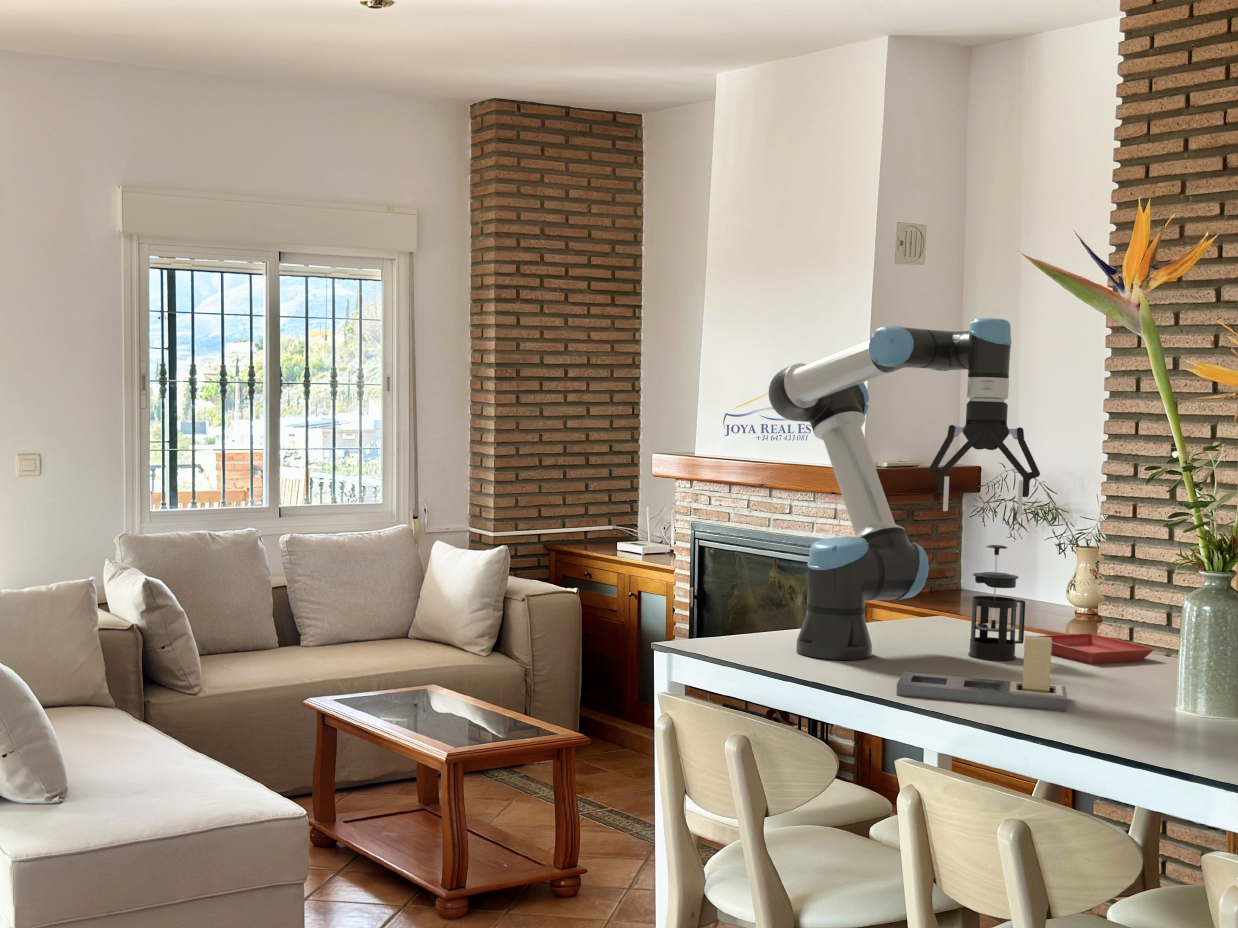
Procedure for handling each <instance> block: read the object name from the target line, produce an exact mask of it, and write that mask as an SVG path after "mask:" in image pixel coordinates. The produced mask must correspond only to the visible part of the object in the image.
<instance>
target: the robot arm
mask: <svg viewBox="0 0 1238 928" xmlns="http://www.w3.org/2000/svg"><path fill="white" fill-rule="evenodd" d="M1011 333H1012V331H1011V323H1010V321H1008V320H1007V319H1004V318H1003V319H1002V318H990V317H989V318H982V317H981V318H975V319H973V320H971V321H970V326H969V329H968V330H965V331H964V330H960V331H957V330H956V331H955V330H953V331H950V330H940V329H939V330H938V329H924V328H917V327H916V328H914V327H907V326H906V327H904V326H900V325H899V326H898V325H892V326H880V327H879V328H876V329H875V331H874V332H873V334H872V335H871V336H870V338H869V339H868V340H865V341H863V342H861V343H858V344H855V345H853V346H850V347H848V348H845V349H842V350H841V351H837V352H835V353H833V354H830V355H828V356H825V357H822V358H820V359H818V360H816V361H813V362H810V363H808V364H806V363H802V362H800V363H794V364H792V365H789V366H787V367H785V368H782V369H780V371H779V372H777V373H775V375H774V376H773V378H772V379H771V381H770V383H769V387H768V399H769V400H768V401H769V402H770V405H771V407H772V409H773V410H774V411H775V412H776V413H777V414H778V415H780V417H782V418H784V419H786V420H789V421H792V422H802V423H803V422H805V423H806V422H807V423H809V424H810V426H811V428H812V432H813V434H814V436H815V438H817V439H819V440H822V441H823V443H824V445H825V449H826V452H827V454H828V457H829V460H830V463H831V466H832V469H833V473H834V475H835V479H836V481H837V484H838V487H839V491H840V493H841V496H842V499H843V502H844V506H845V508H846V510H847V511H846V512H847V513H848V517H849V519H850V523H851V526H852V528H853V532H854V534H855V536H841V537H839V536H836V537H827V538H822V539H819V540H816V541H815V542H813V543H812V544H811V545H810V548H809V553H808V554H809V555H808V560H807V571H808V572H807V573H808V574H807V594H806V596H807V597H806V598H807V599H806V615H805V617H804V620H803V622H802V626H801V628H800V631H799V632H798V633H799V634H798V636H797V639H796V647H795V649H796V650H795V651H796V653H798V654H800V655H803V656H806V657H811V658H818V659H824V660H837V661H839V660H843V661H847V660H848V661H849V660H850V661H854V660H856V661H857V660H864V659H865V660H866V659H869V658H871V657H872V655H873V643H872V640H871V636H870V633H869V630H868V626H867V622H866V619H865V611H866V610H865V609H866V608H865V607H866V602H867V601H868V602H871V601H892V600H893V601H901V600H903V599H904V600H905V599H911V598H914V597H915V596H917V595H918V594H920V592H921V591H922V589H924V587H925V584H926V583H927V578H928V577H929V576H928V575H929V558H928V556H927V555H928V554H927V552H926V551H925V549H924V548H923V547H922V546H921V545H919V544H918V543H916V542H914V541H913V542H911V541H910V539H909V537H908V535H907V532H906V529H905V528H904V527H903V526H901V525H899V524H896V522H895V520H894V516H893V514H892V511H891V507H890V506H889V503H888V500H887V497H886V494H885V492H884V488H883V485H882V482H881V480H880V478H879V474H878V471H877V469H876V465H875V462H874V461H873V457H872V455H871V452H870V449H869V446H868V443H867V440H866V437H865V434H864V432H863V429H862V427H863V425H864V424H865V421H866V415H867V413H868V410H869V404H868V402H870V395H869V391H868V388H867V386H866V384H865V382H868V381H870V380H873V379H876V378H878V377H882V376H885V375H888V374H889V373H893V372H895V371H898V370H902V369H904V368H912V369H928V370H932V371H941V372H942V371H943V372H948V371H960V370H961V371H962V370H963V371H965V370H967V389H966V390H967V391H966V397H967V399H969V401H967V403H966V411H965V412H966V413H965V423H964V426H956V425H955V424H950V425H949V426H948V429H947V430H948V431H947V436H946V438H945V439H944V442H942V445H941V446H940V448H939V451H938V452H937V454H936V455H935V457H934V459H933V460H932V462H931V464H930V466H929V468H928V471H929V472H930V473H932V474H935V475H936V476H937V491H938V494H943V502H942V503H943V505H942V511H943V512H948V510H949V496H950V495H949V493H950V492H949V491H950V476H947V475H946V474H947V473H949V471H951V469H952V468H954V466H955V465H956V464H957V463H958V462H959V461H960V460H961V459H962V458H963V457H964V456H965V454H966V453H968V451H969V450H970V449H971V448H973V449H975V450H981V451H982V450H987V451H994V450H997V449H999V450H1000V451H1001V453H1002V454H1003V455H1004V456H1005V458H1006V459H1007V460H1008V461H1009V463H1010V464H1011V465H1012V466H1013V468H1014V469H1015V470H1016V472H1018V474H1019V475H1020V476H1021V477H1022V479H1019V480H1018V492H1017V493H1018V494H1017V495H1018V498H1017V516H1022V515H1023V513H1022V512H1023V498H1028V497H1029V495H1030V483H1031V481H1032V479H1035V478H1039V477H1040V476H1041V473H1040V470H1039V468H1038V466H1037V464H1036V462H1035V459H1034V456H1033V454H1032V453H1031V451H1030V448H1029V447H1028V444H1027V442H1026V440H1025V432H1024V428H1023V427H1019V426H1018V428H1017V427H1016V428H1009V427H1008V409H1009V408H1008V407H1009V406H1008V405H1009V404H1007V402H1005V401H1006V400H1007V399H1009V388H1010V387H1009V386H1010V385H1009V384H1010V359H1011V347H1012V334H1011ZM961 433H963V435H964V437H965V439H966V440H967V441H966V442H965V443H964V444H963V445H962V447H960V449H958V451H957V452H956V453H955V454H954V455H953V456H952V457H951V458H950V459H949V460H948V461H947V462H946V463H945V465H943V466H942V467H941V468H940V467H939V466H940V464H941V462H942V460H943V459H944V457H945V455H946V453H947V452H948V450H949V448H950V446H952V443H953V441H954V439H955V438H957V437H959V436H960V434H961ZM1009 435H1011V436H1012V438H1013V440H1017V443H1018V445H1019V447H1020V450H1021V451H1022V453H1023V456H1024V458H1025V459H1026V462H1027V465H1028V466H1029V468H1030V472H1028V471H1027V469H1025V467H1024V466H1023V465H1022V464H1021V462H1019V460H1018V459H1017V458H1016V457H1015V455H1014V454H1013V453H1012V452H1011V450H1010V449H1009V448H1008V447H1007V444H1005V443H1004V441H1005V440H1006V439H1007V438H1008V436H1009Z"/></svg>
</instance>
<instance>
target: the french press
mask: <svg viewBox="0 0 1238 928" xmlns="http://www.w3.org/2000/svg"><path fill="white" fill-rule="evenodd" d="M985 547H986V548H990V549H994V552H993V553H994V556H995V561H994V563H995V564H994V565H995V566H994V571H983V572H974V573H973V574H972V576H973V577H974V580H975V583H976V584H985V585H986V586H987V587H989V588H993V595H975V596H974V595H973V596H972V597H971V625H970V626H971V628H970V638H969V651H968V656H969V657H970V658H973V659H978V660H982V661H993V662H1011V661H1014V660H1016V659H1017V656H1016V644H1023V643H1024V642H1025V616H1026V601H1025V600H1023V599H1016V598H1012V597H1006V596H996V595H997V588H999V589H1014V588H1016V587H1017V586H1016V585H1017V580H1018V579H1019V576H1018V575H1015V574H1010V573H1005V572H997V571H998V556H999V555H1000V549H1002V550H1005V549H1008V548H1009V547H1007V546H1005V545H1000V544H989V545H986V546H985ZM1018 603H1019V620H1018V621H1019V622H1018V640H1016V620H1017V618H1016V617H1017V607H1018ZM977 607H980V617H979V618H980V619H979V622H977ZM990 609H992V611H993V612H992V619H991V621H990V622H989V614H990V613H989V612H990ZM996 609H999V615H998V616H999V618H998V623H997V621H996V619H995V617H996ZM1009 609H1010V610H1011V611H1010V624H1008V620H1009V619H1008V617H1009ZM976 630H978V631H979V636H976V632H977V631H976ZM988 632H992V633H993V632H995V633H998V637H991V636H988V634H989V633H988ZM1008 633H1010V634H1009V639H1007V637H1008V636H1007V635H1008Z"/></svg>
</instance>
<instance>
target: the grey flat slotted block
mask: <svg viewBox="0 0 1238 928" xmlns="http://www.w3.org/2000/svg"><path fill="white" fill-rule="evenodd" d="M1022 687H1023V681H1012V680H1011V681H1010V680H1002V679H990V678H989V679H987V678H977V677H966V676H955V675H944V674H933V673H922V672H911V671H903V672H902V673H901V675H900V678H899V679H898V681H897V683H896V696H900V697H901V696H903V697H912V698H923V699H924V698H925V699H931V700H932V699H933V700H943V701H954V702H966V703H973V704H974V703H975V704H985V705H996V706H1007V707H1017V708H1027V709H1038V710H1049V711H1061V712H1068V695H1067V694H1068V693H1067V687H1066V686H1065V685H1057V684H1050V689H1049V693H1044V692H1033V691H1022Z"/></svg>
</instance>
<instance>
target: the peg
mask: <svg viewBox="0 0 1238 928" xmlns="http://www.w3.org/2000/svg"><path fill="white" fill-rule="evenodd" d="M1040 636H1041V635H1026V634H1024V646H1023V647H1024V649H1023V666H1022V667H1023V668H1022V669H1023V670H1022V682H1023V687H1022V691H1033V692H1044V693H1049V689H1050V685H1051V684H1050V683H1051V667H1052V665H1051V663H1052V654H1051V648H1052V638H1051V637H1040Z"/></svg>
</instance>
